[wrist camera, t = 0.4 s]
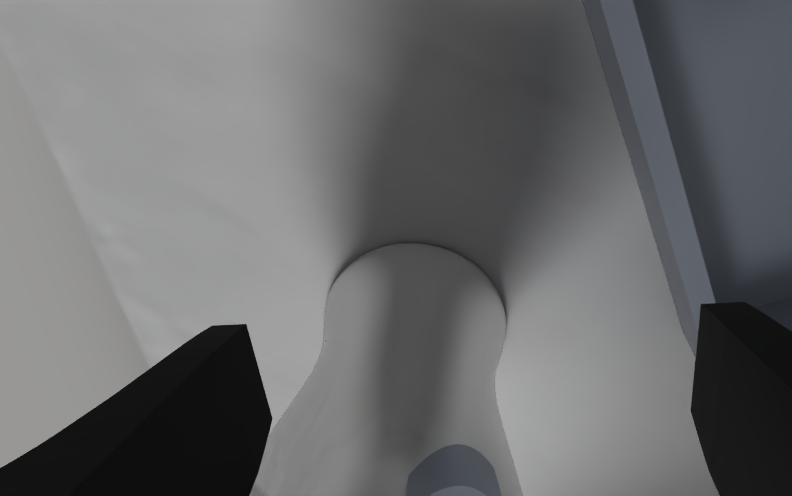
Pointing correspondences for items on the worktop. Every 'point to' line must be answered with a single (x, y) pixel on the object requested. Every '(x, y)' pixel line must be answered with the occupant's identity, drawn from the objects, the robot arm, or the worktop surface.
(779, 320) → the bin
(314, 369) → the beer glass
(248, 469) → the robot arm
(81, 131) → the worktop surface
